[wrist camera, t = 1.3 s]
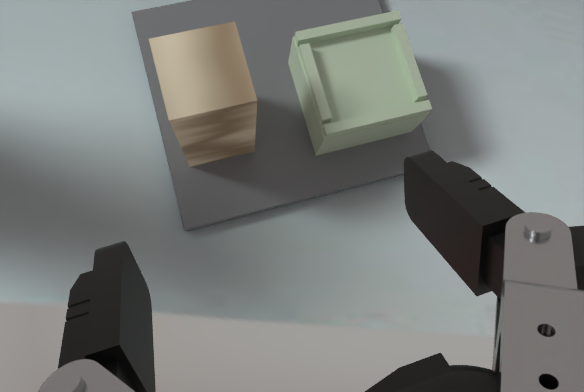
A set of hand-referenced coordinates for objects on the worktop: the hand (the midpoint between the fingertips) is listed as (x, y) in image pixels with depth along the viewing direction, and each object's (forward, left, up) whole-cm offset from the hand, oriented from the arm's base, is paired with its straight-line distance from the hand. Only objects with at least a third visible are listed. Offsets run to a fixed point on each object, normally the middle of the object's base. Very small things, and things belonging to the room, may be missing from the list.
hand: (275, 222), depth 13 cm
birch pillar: (-1, +11, -22) cm, 24 cm away
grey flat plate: (+5, +13, -23) cm, 27 cm away
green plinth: (+10, +11, -22) cm, 27 cm away
